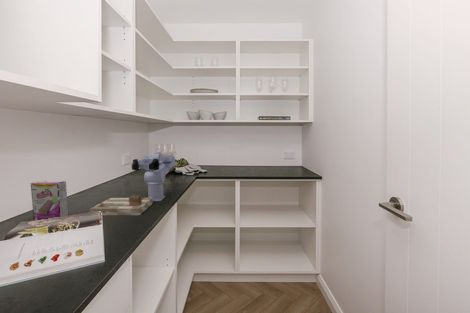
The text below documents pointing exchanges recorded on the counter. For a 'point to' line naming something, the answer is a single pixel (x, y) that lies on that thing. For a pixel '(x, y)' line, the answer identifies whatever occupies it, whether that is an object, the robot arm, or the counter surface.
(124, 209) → the trap deck
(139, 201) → the walnut block
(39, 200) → the candy bar box
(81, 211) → the counter surface
